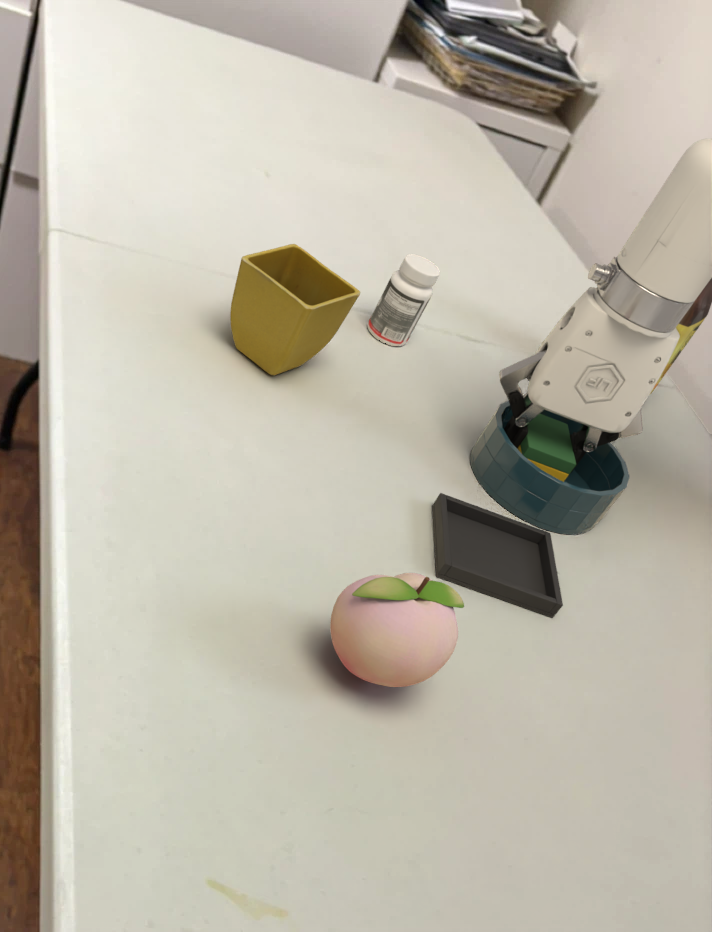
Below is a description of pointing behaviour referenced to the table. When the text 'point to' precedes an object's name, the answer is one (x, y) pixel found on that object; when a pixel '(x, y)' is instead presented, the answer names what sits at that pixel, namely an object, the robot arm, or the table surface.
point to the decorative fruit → (395, 628)
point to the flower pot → (287, 307)
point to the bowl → (547, 479)
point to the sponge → (549, 446)
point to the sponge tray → (495, 555)
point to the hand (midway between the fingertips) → (529, 463)
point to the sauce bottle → (690, 324)
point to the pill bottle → (403, 300)
